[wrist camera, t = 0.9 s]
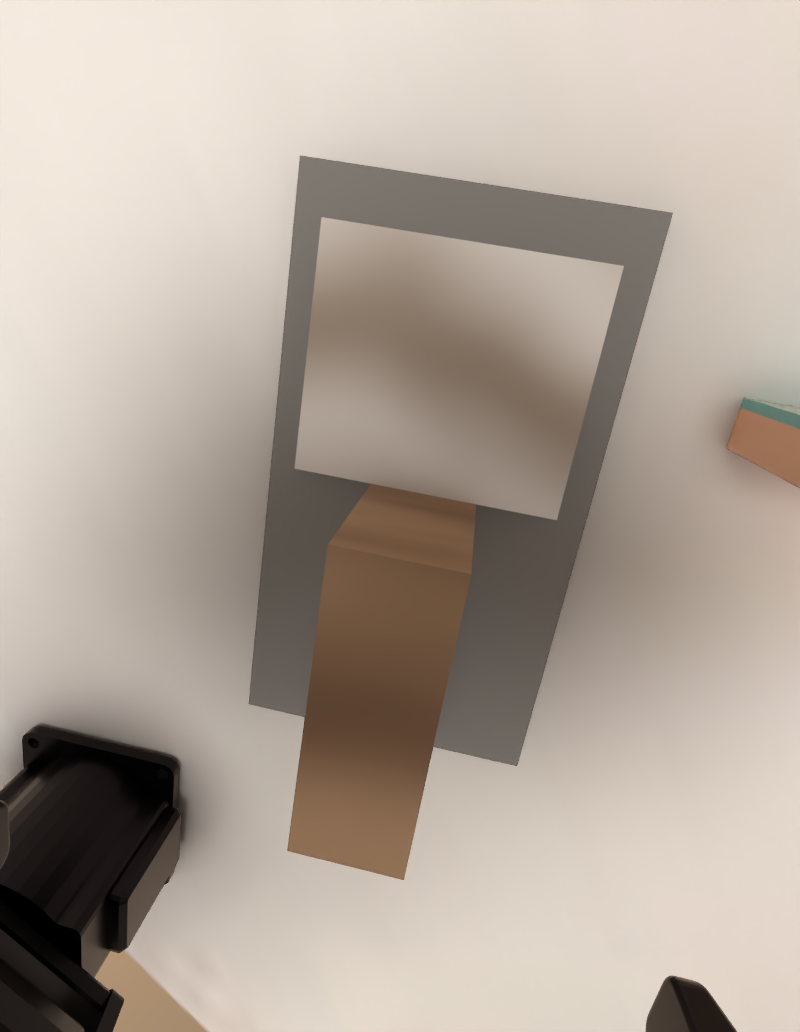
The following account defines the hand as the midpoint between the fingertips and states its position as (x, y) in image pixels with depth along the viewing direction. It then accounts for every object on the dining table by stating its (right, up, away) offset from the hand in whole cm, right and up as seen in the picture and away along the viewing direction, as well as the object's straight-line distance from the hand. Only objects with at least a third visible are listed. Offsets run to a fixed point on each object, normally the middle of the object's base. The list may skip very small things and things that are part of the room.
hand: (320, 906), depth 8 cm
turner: (+2, +5, +11) cm, 12 cm away
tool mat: (+2, +6, +12) cm, 13 cm away
